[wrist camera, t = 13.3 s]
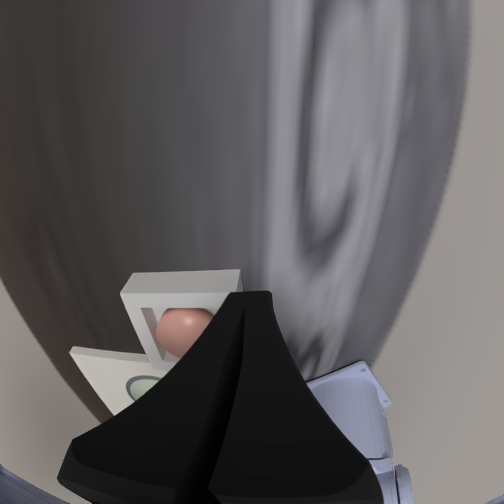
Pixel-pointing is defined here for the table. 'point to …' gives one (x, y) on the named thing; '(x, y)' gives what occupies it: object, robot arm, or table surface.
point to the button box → (173, 302)
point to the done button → (181, 328)
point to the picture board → (116, 375)
